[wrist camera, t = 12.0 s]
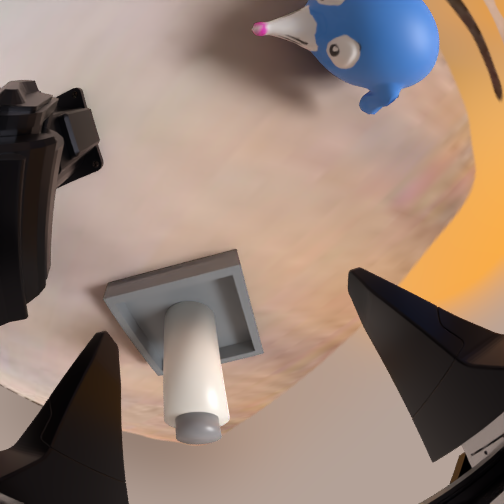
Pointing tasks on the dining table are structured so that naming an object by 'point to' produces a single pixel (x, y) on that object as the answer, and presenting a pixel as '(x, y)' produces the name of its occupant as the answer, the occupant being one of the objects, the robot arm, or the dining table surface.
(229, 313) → the dish
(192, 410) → the bottle
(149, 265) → the dining table surface
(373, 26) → the blue mole toy
